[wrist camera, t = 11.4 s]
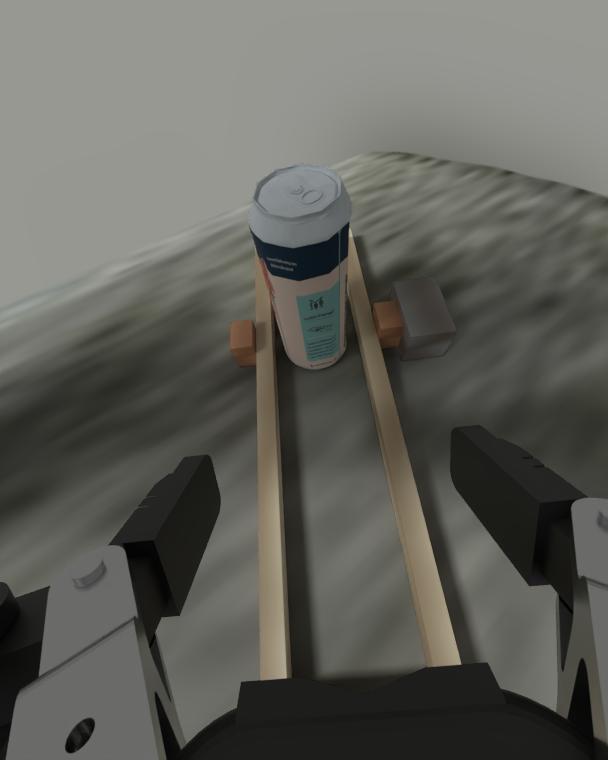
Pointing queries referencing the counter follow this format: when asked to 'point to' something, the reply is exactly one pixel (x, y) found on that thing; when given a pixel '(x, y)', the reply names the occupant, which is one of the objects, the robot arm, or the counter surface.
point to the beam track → (415, 341)
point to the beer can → (305, 258)
